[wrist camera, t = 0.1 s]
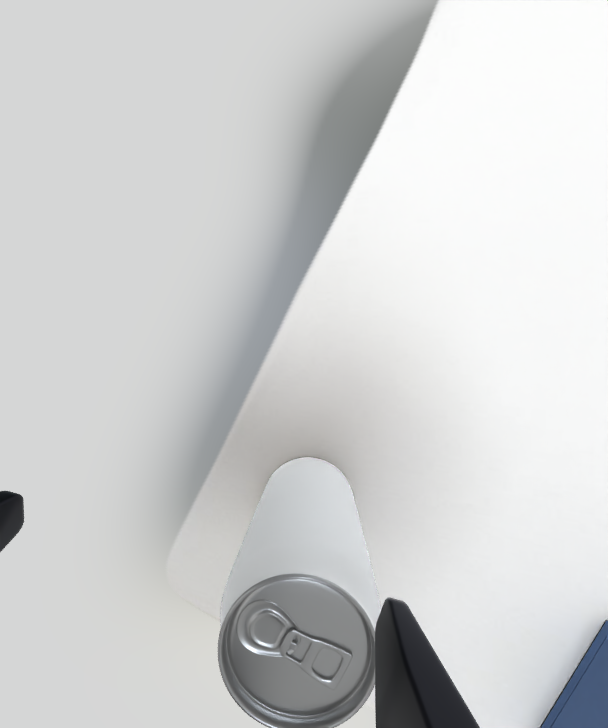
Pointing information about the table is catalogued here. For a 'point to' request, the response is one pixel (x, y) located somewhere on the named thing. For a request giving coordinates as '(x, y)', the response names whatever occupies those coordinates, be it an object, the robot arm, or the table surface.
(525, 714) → the table surface
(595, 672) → the bin
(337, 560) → the can
